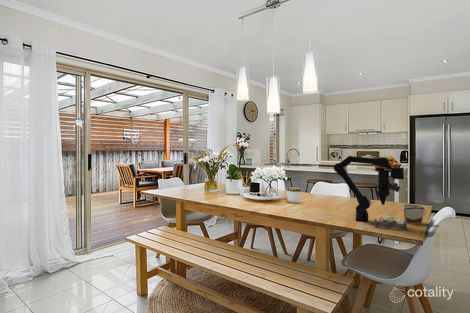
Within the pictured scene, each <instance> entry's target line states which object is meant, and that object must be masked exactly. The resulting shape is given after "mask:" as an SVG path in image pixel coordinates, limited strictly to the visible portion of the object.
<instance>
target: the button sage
mask: <svg viewBox="0 0 470 313" xmlns="http://www.w3.org/2000/svg"><path fill="white" fill-rule="evenodd" d="M385 220H386V222H388V223H394V221H395V216H393V215H386V219H385Z"/></svg>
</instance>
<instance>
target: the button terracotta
mask: <svg viewBox="0 0 470 313" xmlns="http://www.w3.org/2000/svg"><path fill="white" fill-rule="evenodd" d="M376 219H377V222H384V220H385V218H384V217H376Z"/></svg>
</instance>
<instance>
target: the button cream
mask: <svg viewBox="0 0 470 313" xmlns="http://www.w3.org/2000/svg"><path fill="white" fill-rule="evenodd" d="M395 221H396V223H397V224H404V222H405V220H404V219H399V218H397V219H396V220H395Z"/></svg>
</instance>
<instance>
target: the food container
mask: <svg viewBox="0 0 470 313" xmlns="http://www.w3.org/2000/svg"><path fill="white" fill-rule="evenodd" d="M402 210H403V216H404V218H403V220H404V222H405V223H406V224H423V216H424V211H425V210H426V209H425V207H424V206H423V205H419V204H418V205H417V204H404V205H403V206H402Z"/></svg>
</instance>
